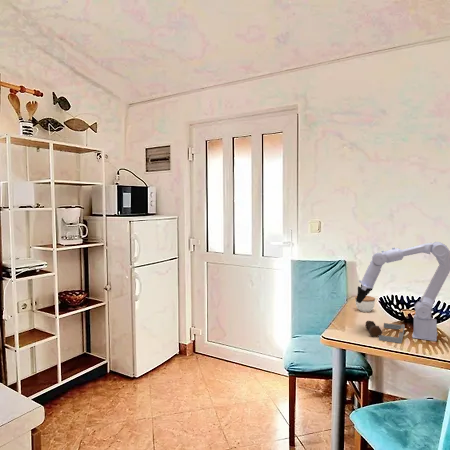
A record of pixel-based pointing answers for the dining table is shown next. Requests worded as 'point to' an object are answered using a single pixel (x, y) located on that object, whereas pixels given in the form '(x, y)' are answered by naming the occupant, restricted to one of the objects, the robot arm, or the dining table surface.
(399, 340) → the hub cradle
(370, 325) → the bolt
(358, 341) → the dining table surface
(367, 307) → the lidded jar
